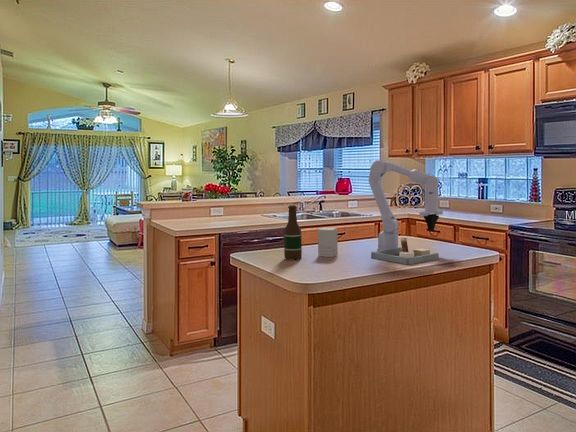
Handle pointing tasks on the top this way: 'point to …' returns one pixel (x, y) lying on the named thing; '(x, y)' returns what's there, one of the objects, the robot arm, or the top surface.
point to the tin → (404, 244)
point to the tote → (389, 257)
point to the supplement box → (327, 242)
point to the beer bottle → (292, 236)
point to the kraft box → (421, 252)
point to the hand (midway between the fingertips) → (431, 230)
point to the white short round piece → (406, 254)
